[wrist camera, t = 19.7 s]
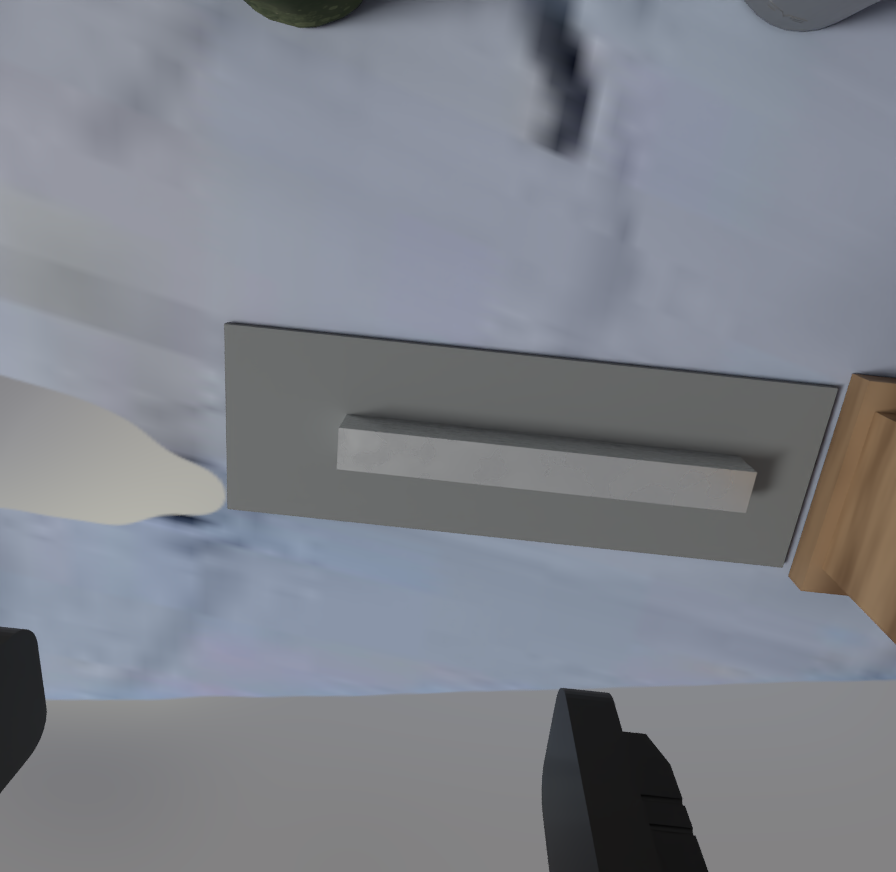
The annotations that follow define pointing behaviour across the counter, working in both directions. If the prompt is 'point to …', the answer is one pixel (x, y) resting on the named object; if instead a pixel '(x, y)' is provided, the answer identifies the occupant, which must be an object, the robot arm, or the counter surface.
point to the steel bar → (544, 463)
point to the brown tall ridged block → (856, 507)
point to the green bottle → (304, 10)
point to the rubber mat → (514, 410)
